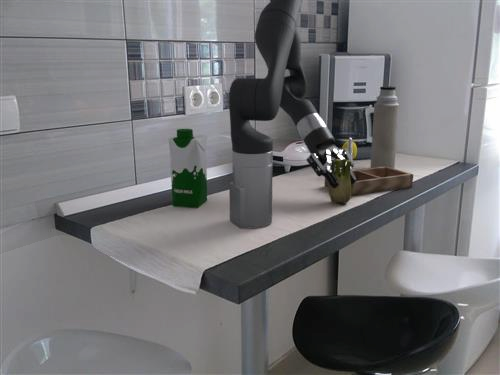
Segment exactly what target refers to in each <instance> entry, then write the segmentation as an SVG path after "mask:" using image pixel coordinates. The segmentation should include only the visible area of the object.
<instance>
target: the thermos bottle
mask: <svg viewBox="0 0 500 375" xmlns="http://www.w3.org/2000/svg"><path fill="white" fill-rule="evenodd" d="M399 111H400V104H399V103H398V96H396V87H395V86H390V85H389V86H388V85H387V86H386V85H385V86H379V95H378V96H376V102H375V103H374V105H373V119H372V120H373V122H372V136H371V152H370V166H369V168H376V167H384V166H386V167H390V168H393V169H396V168H395V163H396V152H397V142H398V141H397V139H398V126H399V113H400V112H399Z"/></svg>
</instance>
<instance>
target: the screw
mask: <svg viewBox="0 0 500 375" xmlns="http://www.w3.org/2000/svg"><path fill="white" fill-rule="evenodd" d="M347 141H348V148H347V149H348V151H349V153H350V156H351V158H352V157H353V156H352V152H353V151H352V150H353V149H352V148H353V147H352V146H353V145H352V142H353V138H352V137H349V138H348V140H347ZM352 170H354V169H353V168H351V171H352Z"/></svg>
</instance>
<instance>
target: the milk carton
mask: <svg viewBox="0 0 500 375" xmlns="http://www.w3.org/2000/svg"><path fill="white" fill-rule="evenodd" d="M207 138H208V136H207V135H205V134H204V135H203V134H194V131H193V129H192V128H178V129H176V134H175V135H174V136H172V137H171V136H170V137H169V138H168V147H169V154H170V155H169V158H170V178H171V180H170V181H171V196H172V206H173V207H179V208H181V207H182V208H192V209H199V207H201V206H202V205H203V204H205V203H206V202H208V178H207V176H208V174H207V173H208V171H207V168H208V167H207V141H208V139H207Z"/></svg>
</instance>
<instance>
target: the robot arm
mask: <svg viewBox="0 0 500 375" xmlns="http://www.w3.org/2000/svg"><path fill="white" fill-rule="evenodd" d="M302 2H303V0H269V3H268V4H266V6H264V8H263V9H262V11H261V12H260V15H259V18H258V21H257V24H256V26H255V27H256V28H255V32H254V42H255V45H256V46H257V47H256V48H257V49H258V52H259V54H260V55H261V58H262V59H263V60H264V62H265V65H266V67H267V74H266V76H265V77H264V78H259V77H256V78H251V77H247V78H246V77H244V78H242V77H240V78H239V77H238V78H235V79H234V80H233V81H232V82H231V85H230V87H229V92H228V110H229V120H230V121H229V122H230V141H231V150H232V154H231V156H232V162H231V163H232V181H230V182H229V186H228V188H229V196H228V197H229V221H230V223H232V224H233V225H235V226H237V227H238V228H239V229H244V228H248V229H257V228H264V227H267V226H270V225H271V224H272V223H273V168H274V167H273V157H274V156H273V155H274V154H273V153H274V152H273V151H274V150H273V148H274V145H273V139H272V137H270V136H269V135H266V134H264V133H262V132H260V131H259V130H258V129H257V130H256V128H254V127H253V126H252V125H251V122H250V121H254V122H255V121H256V122H260V121H261V122H269V121H273V120H274V119H276V117H277V115H278V113H279V110H280V108H281V109H282V111H284V112H285V113H286V114H287V115H288V116H289V117H290V118H291V121H292V122H293V123H294V126H295V127H296V129H297V131H298V133H299V134H298V135H299V136H300V138H301V140H302V141H303V143H304V145H305V147H306V148H307V150H308V151H309V154H310V155H308V156H307V158H306V162H307V163H308V164H309V166H310V168H311V169H312V170H313V171H314V173H315V174H316V176H317V177H321V176H322V177H324V179H325V178H326V179H327V180H328V182H329V184H330V186H331V187H332V188H333V189H334V188H337V187H338V186H339V182H338V180H337V178H336V177H335V175H334V173H331V172H332V169H331V165H332V162H331V159H334V164H336V159H341V165H340V171H341V166H342V159H346V161H347V160H350V161H351V169H353V168H354V167H355V163H354V159H352V158H351V156H350V153H349V151H348V149H347V148H344V150H342V149H339V148H338V147H337V146H336V140H335V137H334V136H333V134H332V132H331V131H330V129H329V128H328V126H327V124H326V123H325V121H324V119H323V118H322V117H321V115H320V114H319V112H318V111H317V109H316V107H315V106H314V104H313V102H311V101H310V100H309V99H306V98H304V97H305V95H306V93H307V90H308V83H307V79H306V76H305V71H304V67H303V64H302V58H301V57H302V52H301V51H302V42H301V41H302V40H301V34H300V31H299V28H298V18H299V16H300V15H299V14H300V10H301V6H302ZM286 70H288V71H289V72H288V73H289V75H287V76H285V75H286ZM345 166H346V165H345ZM351 169H350V181H351V185H353V184H354V183H355V182H356V177H355V176H354V174H353V172H352V171H351Z"/></svg>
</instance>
